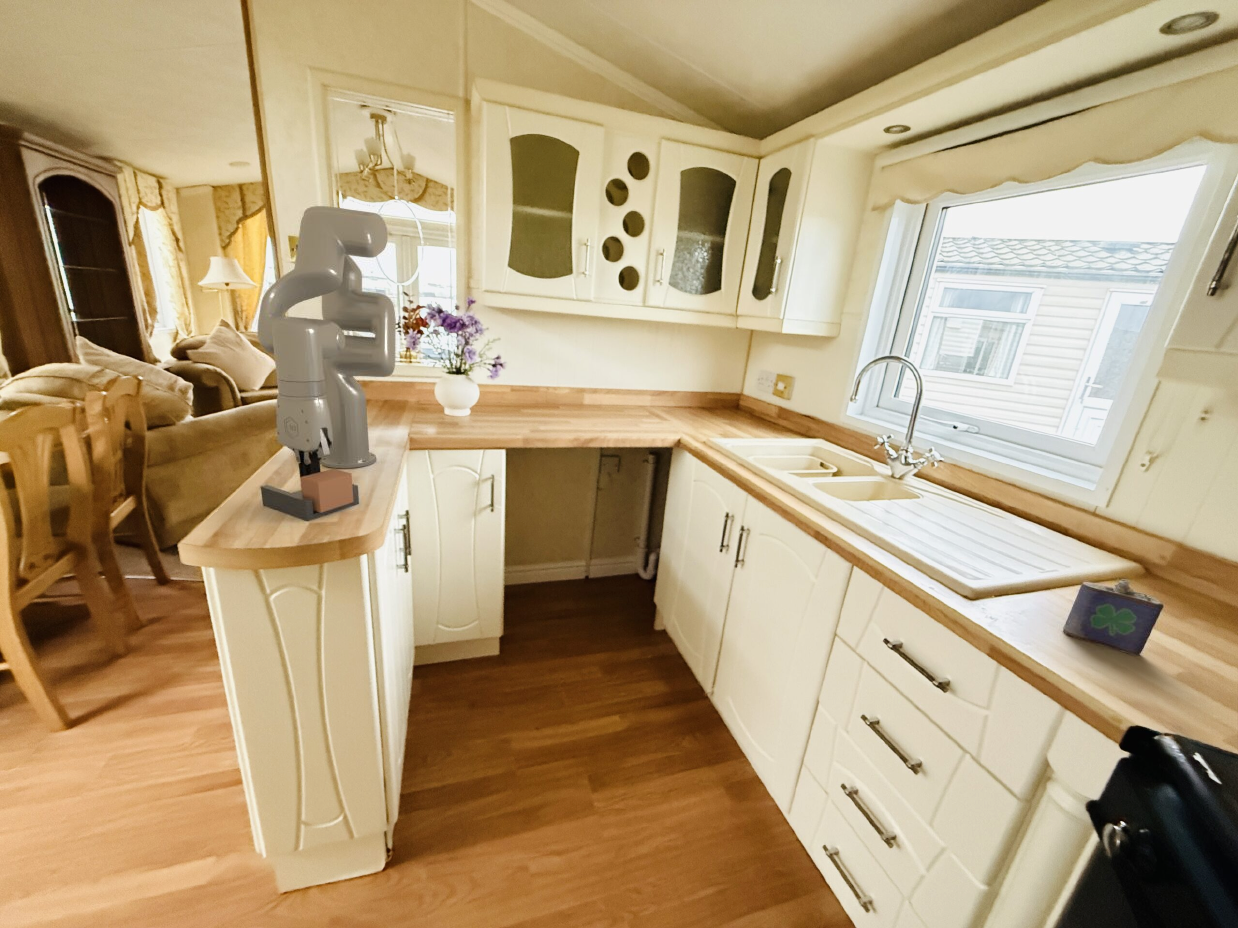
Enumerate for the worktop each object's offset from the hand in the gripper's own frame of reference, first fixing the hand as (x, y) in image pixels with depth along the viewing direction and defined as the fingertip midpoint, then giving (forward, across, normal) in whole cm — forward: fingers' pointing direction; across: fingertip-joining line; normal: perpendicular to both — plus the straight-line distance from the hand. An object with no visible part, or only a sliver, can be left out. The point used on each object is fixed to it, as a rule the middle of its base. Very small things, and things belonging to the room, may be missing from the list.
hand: (311, 481), depth 98 cm
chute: (+5, 0, 0) cm, 5 cm away
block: (+4, +5, 0) cm, 6 cm away
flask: (+6, +136, +31) cm, 140 cm away
